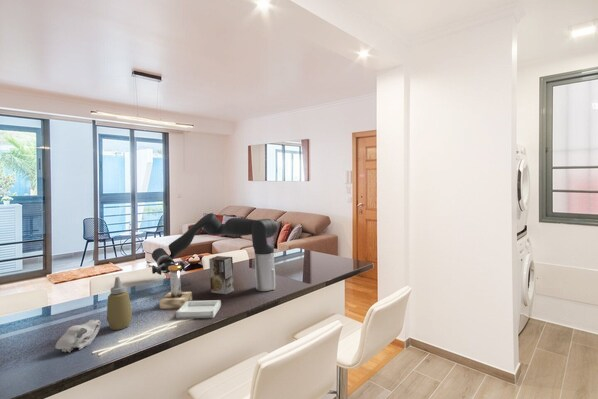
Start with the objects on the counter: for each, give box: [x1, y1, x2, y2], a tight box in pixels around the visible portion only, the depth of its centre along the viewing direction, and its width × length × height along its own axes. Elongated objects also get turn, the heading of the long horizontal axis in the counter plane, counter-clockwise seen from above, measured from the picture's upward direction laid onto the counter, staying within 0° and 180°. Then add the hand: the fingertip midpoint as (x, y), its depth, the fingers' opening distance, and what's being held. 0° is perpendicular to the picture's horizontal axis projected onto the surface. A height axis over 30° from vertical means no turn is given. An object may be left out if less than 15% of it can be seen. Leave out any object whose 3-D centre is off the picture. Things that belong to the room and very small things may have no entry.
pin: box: [168, 265, 182, 298], centre depth 140 cm, size 5×5×16 cm
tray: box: [175, 299, 222, 320], centre depth 130 cm, size 14×12×2 cm
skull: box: [54, 319, 102, 353], centre depth 105 cm, size 8×9×12 cm
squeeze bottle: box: [106, 276, 133, 331], centre depth 118 cm, size 8×8×18 cm
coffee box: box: [208, 255, 235, 295], centre depth 155 cm, size 9×6×16 cm
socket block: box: [158, 291, 193, 309], centre depth 140 cm, size 10×10×4 cm
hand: (170, 271), depth 150 cm, fingers open, 8 cm apart
